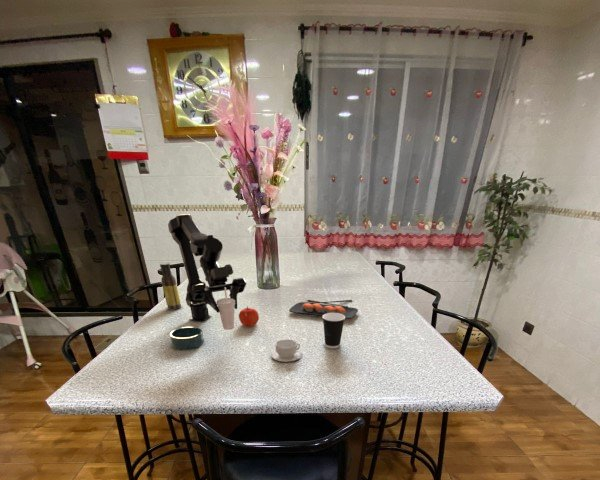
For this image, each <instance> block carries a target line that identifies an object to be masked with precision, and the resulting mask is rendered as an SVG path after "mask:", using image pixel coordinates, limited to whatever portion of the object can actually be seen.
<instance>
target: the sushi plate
mask: <svg viewBox="0 0 600 480" xmlns="http://www.w3.org/2000/svg"><path fill="white" fill-rule="evenodd" d="M348 302H349V303H350V302H353V300H352V299H345V300H343V299H342V300H333V301H318V300H312V299H307V301H300V302H297V303H296V304H294V305H293V306H292V307H290V308H289V312H290V313H294V314H298V315H303V316H310V317H312V316H313V317H318V318H322V316H323V315H324V314H326V313H340V314H343V315H344V316H345V319H344V320H350V319H353V318H354V317H355V316H356V315H357V313H358V312H359V311H358V310H359V309H358V308H356V307H350V306H348V305H341V304H335V303H348Z"/></svg>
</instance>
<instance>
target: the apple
mask: <svg viewBox="0 0 600 480" xmlns="http://www.w3.org/2000/svg"><path fill="white" fill-rule="evenodd" d="M259 318H260V315H259V312H258V310H256V309H255V308H251V307H249V306H246V307H245V308H243V309H241V310H240V312H239V313H238V319H239V321H240V323H241V324H242V326H244V327H249V328H251V327H255V326H256V325H257V323H258V322H259Z"/></svg>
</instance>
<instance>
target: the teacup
mask: <svg viewBox="0 0 600 480" xmlns="http://www.w3.org/2000/svg"><path fill="white" fill-rule="evenodd" d="M274 346H275V351H274V352H272V354H271V357H272V359H274V360H275V361H277V362H285V363H286V362H287V363H288V362H294V361H297V360H299V359H300V358H301V357H302V353H301V352H300V351H298V350H299V349H300V348H301V344H300V343H298V342H297V341H296V340H293V339H287V338H286V339H279V340H277V341H276V342H275V343H274Z"/></svg>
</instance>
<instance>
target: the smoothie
mask: <svg viewBox="0 0 600 480" xmlns="http://www.w3.org/2000/svg"><path fill="white" fill-rule="evenodd" d="M224 289H225V290H224V296H225V297H224V298H219V299H218V300H216V304H217V306H218V308H219V315H220V319H221V324H222V327H223V329H224V330H227V331H229V330H233V329H234V328H235V310H236V309H235V300H234V299H231V298H230V297H228V292H227V290H226V287H225V288H224Z"/></svg>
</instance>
